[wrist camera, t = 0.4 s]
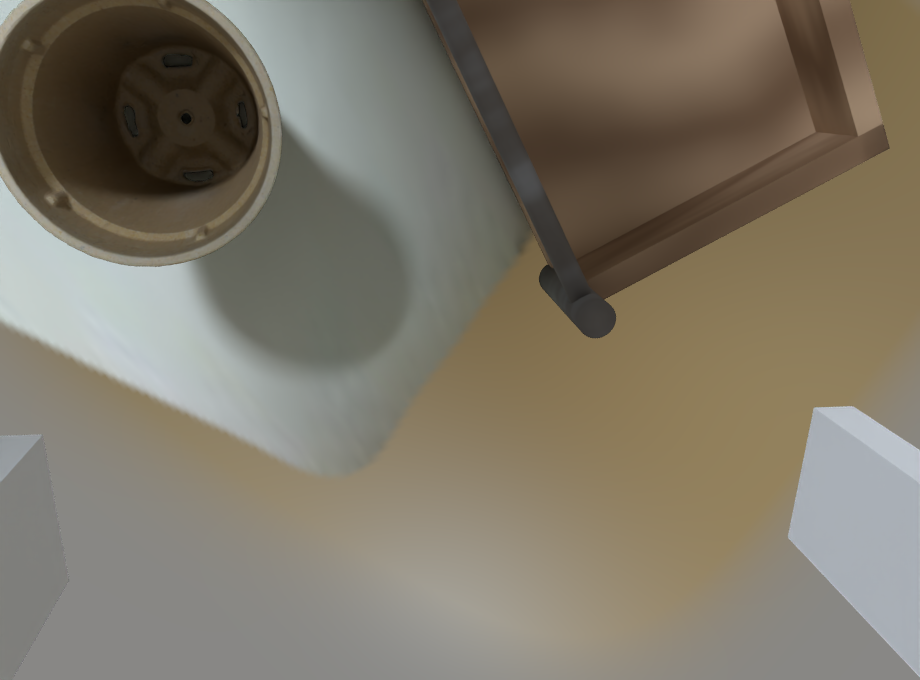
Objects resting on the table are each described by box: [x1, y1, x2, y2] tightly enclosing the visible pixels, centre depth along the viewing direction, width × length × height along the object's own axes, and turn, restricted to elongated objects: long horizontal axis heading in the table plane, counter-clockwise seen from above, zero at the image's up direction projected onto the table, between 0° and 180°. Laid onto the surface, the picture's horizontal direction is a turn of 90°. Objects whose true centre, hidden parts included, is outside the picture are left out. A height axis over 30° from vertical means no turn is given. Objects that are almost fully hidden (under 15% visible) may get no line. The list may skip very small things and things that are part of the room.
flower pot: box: [0, 0, 282, 267], centre depth 28 cm, size 9×9×9 cm
